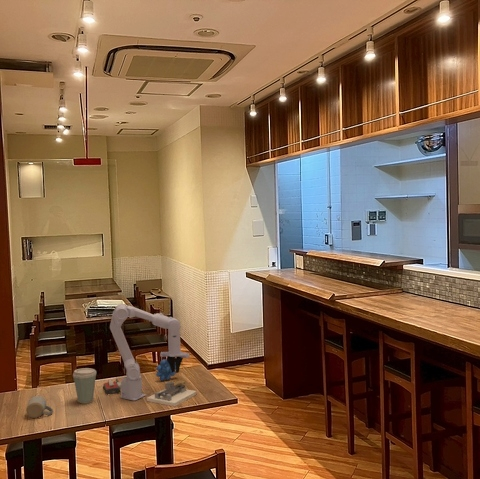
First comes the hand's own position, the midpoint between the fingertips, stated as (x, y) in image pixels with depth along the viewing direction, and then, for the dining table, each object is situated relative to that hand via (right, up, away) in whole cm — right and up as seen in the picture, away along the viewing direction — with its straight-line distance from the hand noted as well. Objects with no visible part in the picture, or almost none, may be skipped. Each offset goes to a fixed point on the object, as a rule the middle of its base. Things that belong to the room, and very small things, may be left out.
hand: (175, 372), depth 246 cm
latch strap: (-1, -8, -6) cm, 10 cm away
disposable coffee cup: (-41, -12, -7) cm, 43 cm away
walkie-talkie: (-33, -11, +10) cm, 36 cm away
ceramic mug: (-57, -13, -22) cm, 62 cm away
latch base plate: (-1, -10, -6) cm, 12 cm away
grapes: (-7, -9, +21) cm, 24 cm away
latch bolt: (+3, -5, -2) cm, 6 cm away
